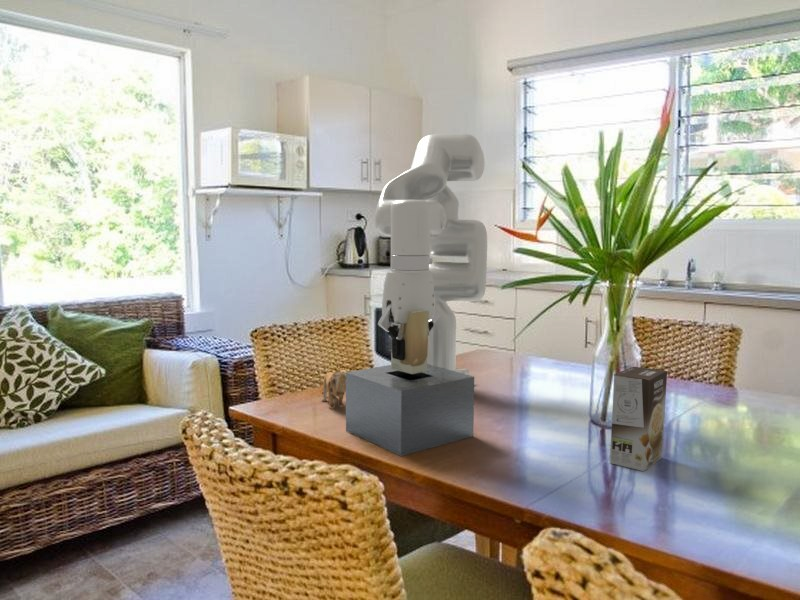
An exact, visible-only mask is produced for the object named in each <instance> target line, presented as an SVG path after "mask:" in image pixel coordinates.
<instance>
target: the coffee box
mask: <svg viewBox="0 0 800 600" xmlns="http://www.w3.org/2000/svg"><path fill="white" fill-rule="evenodd" d="M667 380H668V371H667V370H663V369H656V368H649V367H640V366H632V367H629V368H626V369H623V370H622V371H619V372H616V373H614V374H613V392H612V393H613V394H612V412H611V429H610V432H611V433H610V450H609V451H610V453H609V463H610V464H613V465H616V466H620V467H625V468H629V469H633V470H637V471H641V472H644V471H646V470H648V469H649V468H650V467H651V466H653V465H654V464H656V463H657V462H658V461H660V460H661V459H662V458H663V448H664V432H665V415H666V413H665V412H666V398H667V397H666V396H667V395H666V394H667V383H668V382H667Z"/></svg>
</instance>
